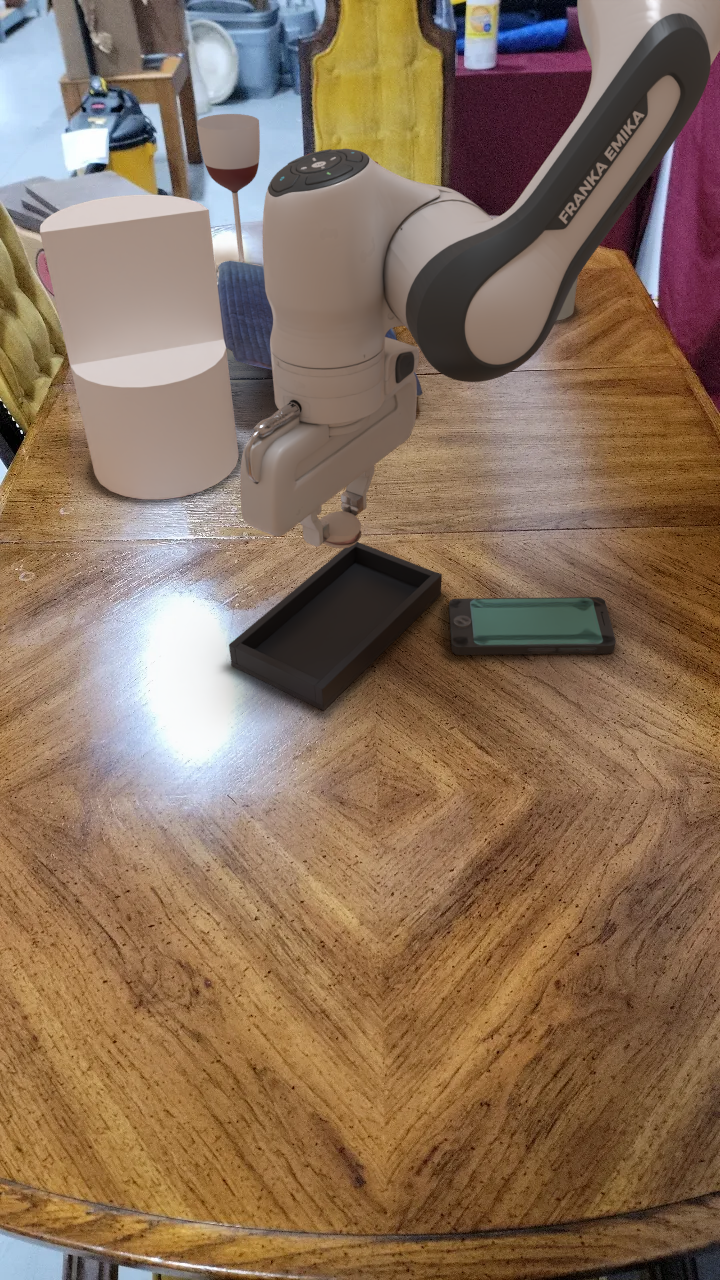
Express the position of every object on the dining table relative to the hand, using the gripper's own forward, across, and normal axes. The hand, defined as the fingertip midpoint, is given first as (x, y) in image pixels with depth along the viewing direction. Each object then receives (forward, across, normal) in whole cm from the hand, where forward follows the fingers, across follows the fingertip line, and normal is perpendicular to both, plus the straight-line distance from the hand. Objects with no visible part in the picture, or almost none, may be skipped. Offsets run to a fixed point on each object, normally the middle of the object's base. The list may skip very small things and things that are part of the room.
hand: (336, 525), depth 87 cm
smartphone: (+12, +10, -15) cm, 22 cm away
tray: (+12, 0, 0) cm, 12 cm away
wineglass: (+12, +66, +68) cm, 96 cm away
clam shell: (+2, 0, 0) cm, 2 cm away
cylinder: (+12, +14, +36) cm, 41 cm away
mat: (+12, +47, +40) cm, 63 cm away
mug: (+12, +79, +21) cm, 83 cm away
